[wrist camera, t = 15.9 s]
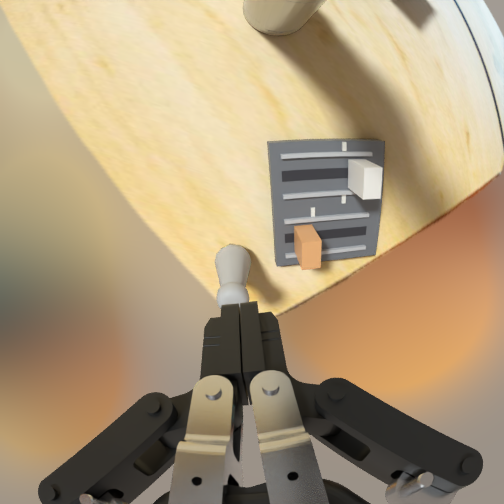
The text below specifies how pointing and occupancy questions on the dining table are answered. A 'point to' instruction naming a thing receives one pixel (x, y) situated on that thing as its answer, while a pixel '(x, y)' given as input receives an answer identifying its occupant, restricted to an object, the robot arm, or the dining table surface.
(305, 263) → the block
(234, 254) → the salt shaker
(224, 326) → the robot arm
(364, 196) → the fader
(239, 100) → the dining table surface
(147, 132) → the dining table surface
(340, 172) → the console
